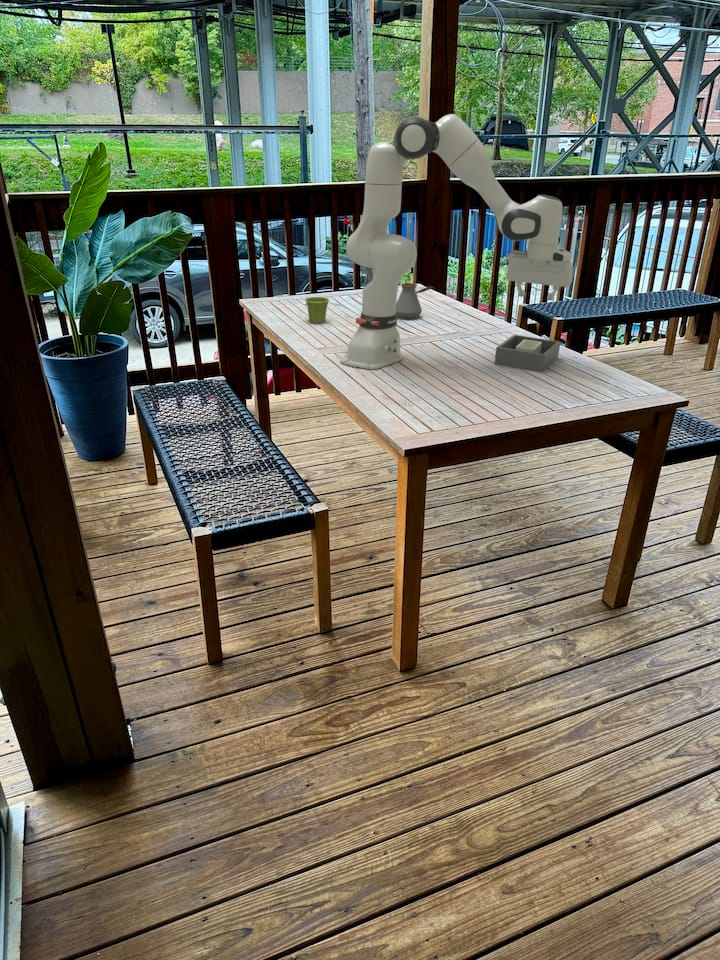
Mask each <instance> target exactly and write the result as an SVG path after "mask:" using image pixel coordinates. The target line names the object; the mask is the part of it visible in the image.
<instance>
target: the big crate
mask: <svg viewBox="0 0 720 960" xmlns="http://www.w3.org/2000/svg"><path fill="white" fill-rule="evenodd" d="M524 339H525V340H531V341H538V342H542V345H541V352H540V354H539V353H533V352H527V351H521V350H515V349H516V346H517V345H519V344H520V343H521V342H522V341H523V340H524ZM560 347H561V341H559V340H552V339H546V338H544V339H543V338H538V337H533V336H526V335H519V334H513V335H512V336H510V337H509V338H507V339H506V340H504V341H503V342H501V344H499V345H498V346H496V349H495V355H494V356H495V358H494V365H498V366H503V367H508V368H512V369H514V368H515V369H521V370H525V371H531V372H537V373H541V372H543V373H544V372H545V371H546V370H547V369H548V368H549V367H551V365H553V364H554V363H555V362H556V361H557V360H558V359H559V354H560Z"/></svg>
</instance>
